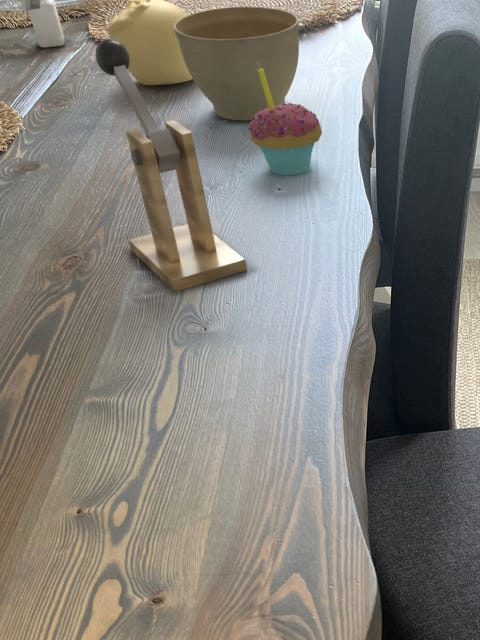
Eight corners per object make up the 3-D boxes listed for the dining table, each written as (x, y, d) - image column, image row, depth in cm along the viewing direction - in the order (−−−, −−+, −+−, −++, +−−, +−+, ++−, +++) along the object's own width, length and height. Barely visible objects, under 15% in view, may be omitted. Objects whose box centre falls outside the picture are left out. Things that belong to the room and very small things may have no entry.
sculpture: (154, 66, 155) (136, -16, 147) (222, 73, 151) (206, -10, 144) (110, 89, 147) (88, 4, 140) (179, 97, 144) (161, 10, 136)
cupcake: (266, 186, 120) (247, 75, 111) (247, 162, 125) (228, 55, 117) (334, 173, 122) (321, 64, 114) (313, 150, 128) (299, 44, 119)
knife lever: (90, 59, 100) (88, 33, 97) (121, 53, 101) (120, 28, 98) (153, 177, 99) (154, 155, 96) (184, 170, 100) (185, 148, 97)
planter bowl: (264, 138, 131) (249, 44, 124) (168, 121, 137) (147, 30, 129) (332, 100, 141) (321, 12, 134) (239, 86, 147) (224, 0, 139)
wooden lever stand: (131, 250, 108) (97, 123, 99) (200, 231, 111) (173, 106, 102) (174, 292, 101) (141, 158, 92) (247, 270, 104) (222, 139, 95)
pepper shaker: (65, 46, 163) (46, -22, 156) (39, 49, 162) (19, -20, 156) (65, 40, 166) (46, -28, 159) (40, 42, 165) (20, -26, 158)
